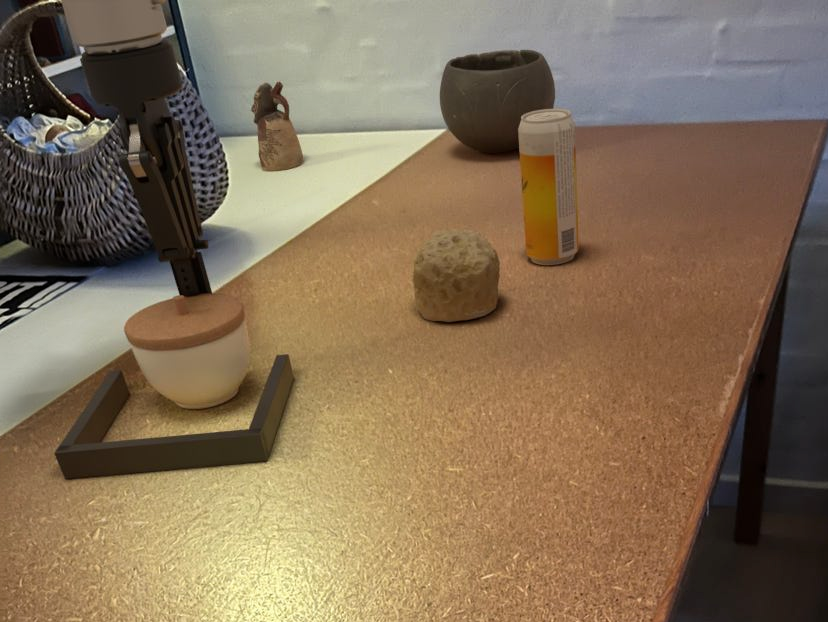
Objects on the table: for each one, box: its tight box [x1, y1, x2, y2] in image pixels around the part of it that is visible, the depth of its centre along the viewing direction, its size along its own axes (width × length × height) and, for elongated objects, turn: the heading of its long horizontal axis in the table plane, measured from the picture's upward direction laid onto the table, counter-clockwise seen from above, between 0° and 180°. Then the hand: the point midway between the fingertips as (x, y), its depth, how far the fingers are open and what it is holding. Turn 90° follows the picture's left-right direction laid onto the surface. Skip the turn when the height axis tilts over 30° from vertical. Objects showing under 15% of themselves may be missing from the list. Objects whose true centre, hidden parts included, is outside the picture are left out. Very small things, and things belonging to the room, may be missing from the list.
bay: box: [53, 353, 295, 480], centre depth 88 cm, size 16×17×2 cm
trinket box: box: [123, 293, 251, 410], centre depth 90 cm, size 11×11×9 cm
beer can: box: [518, 108, 580, 266], centre depth 109 cm, size 6×6×15 cm
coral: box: [412, 228, 501, 323], centre depth 102 cm, size 9×9×8 cm
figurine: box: [250, 80, 304, 172], centre depth 157 cm, size 7×7×12 cm
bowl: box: [439, 49, 556, 154], centre depth 151 cm, size 18×18×13 cm
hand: (204, 323), depth 95 cm, fingers closed
